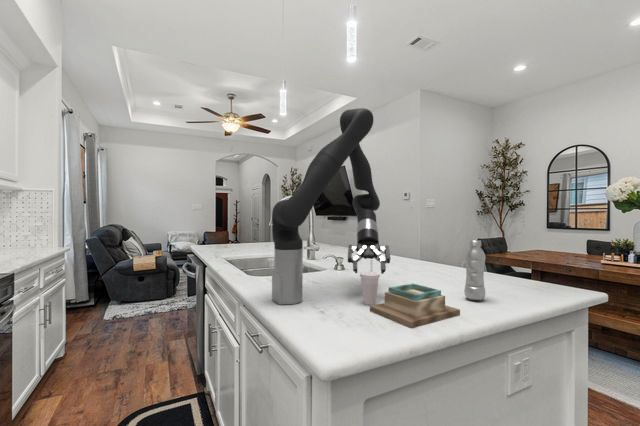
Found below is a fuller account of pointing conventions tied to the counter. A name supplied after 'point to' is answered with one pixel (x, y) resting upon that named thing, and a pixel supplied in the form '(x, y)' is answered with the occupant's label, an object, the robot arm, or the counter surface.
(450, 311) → the pedestal
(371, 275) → the smoothie
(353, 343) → the counter surface
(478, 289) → the plastic bottle
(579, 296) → the counter surface
